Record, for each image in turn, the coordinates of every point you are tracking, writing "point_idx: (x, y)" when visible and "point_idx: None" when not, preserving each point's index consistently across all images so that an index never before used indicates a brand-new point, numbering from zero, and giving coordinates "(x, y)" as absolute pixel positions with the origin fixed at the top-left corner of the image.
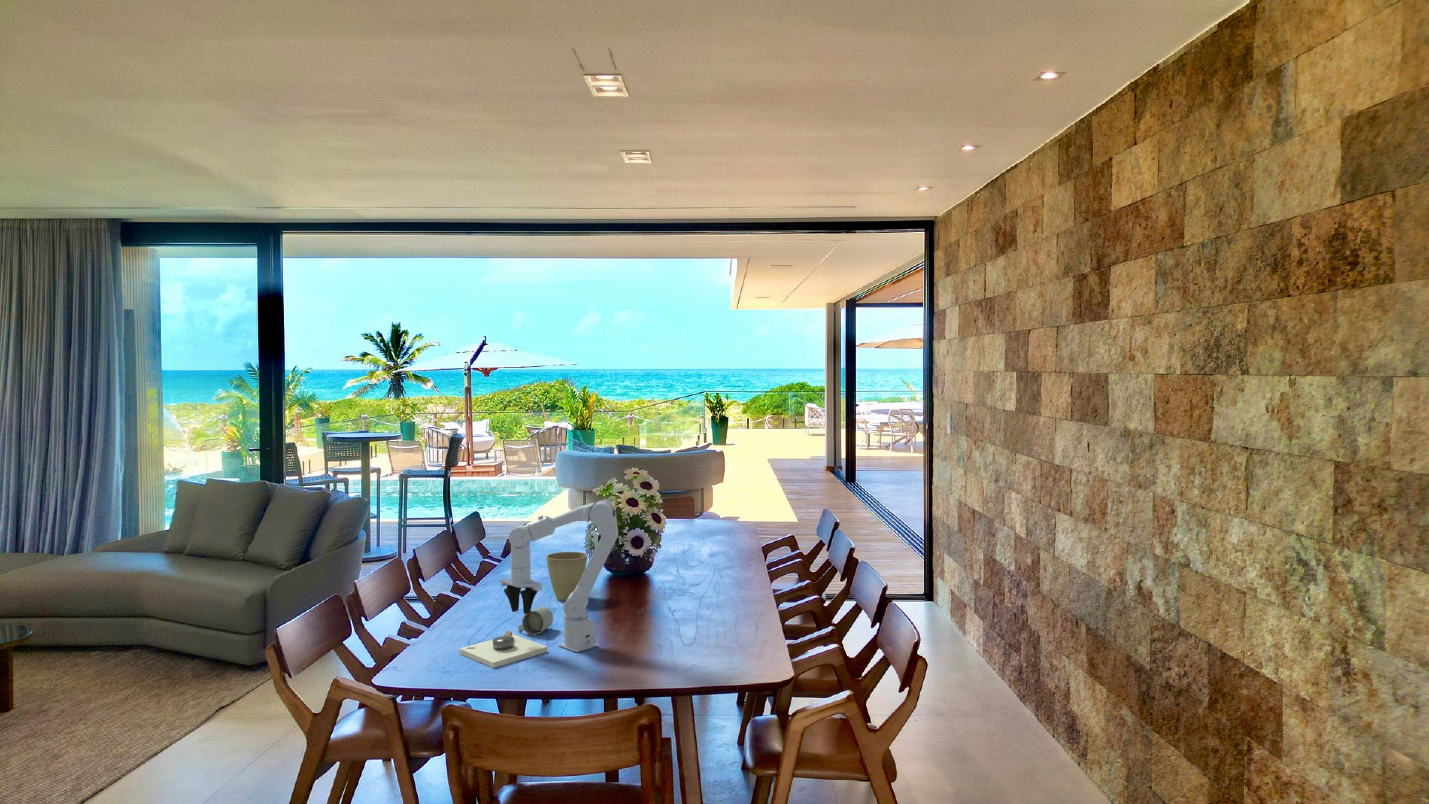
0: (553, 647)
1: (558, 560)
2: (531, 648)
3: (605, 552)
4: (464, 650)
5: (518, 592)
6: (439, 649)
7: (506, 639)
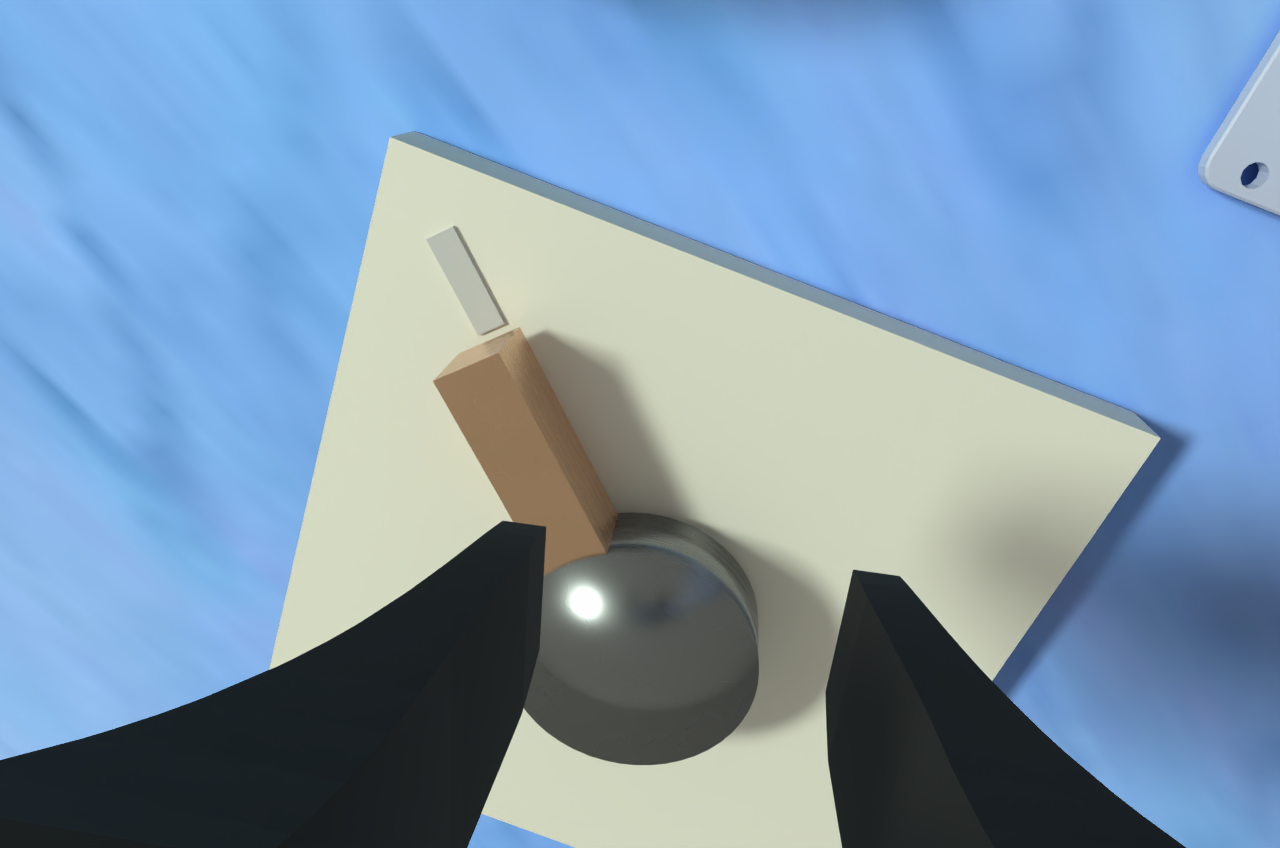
0: (1144, 243)
1: None
2: (982, 551)
3: None
4: None
5: (377, 839)
6: (34, 655)
7: (668, 661)
